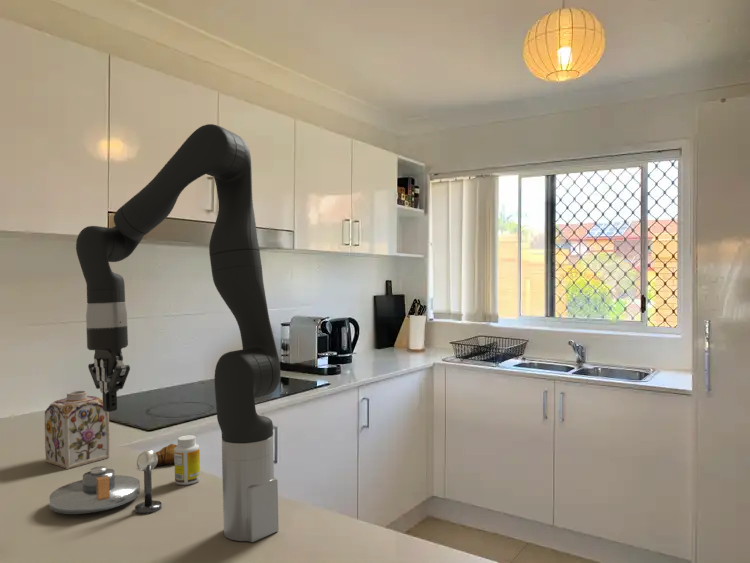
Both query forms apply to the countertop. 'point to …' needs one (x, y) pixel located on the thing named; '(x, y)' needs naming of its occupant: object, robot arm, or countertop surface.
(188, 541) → the countertop surface
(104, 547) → the countertop surface
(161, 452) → the croissant
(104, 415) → the decorative jar
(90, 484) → the cover
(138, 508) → the dial stand
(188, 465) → the supplement bottle
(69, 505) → the turntable
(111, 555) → the countertop surface
